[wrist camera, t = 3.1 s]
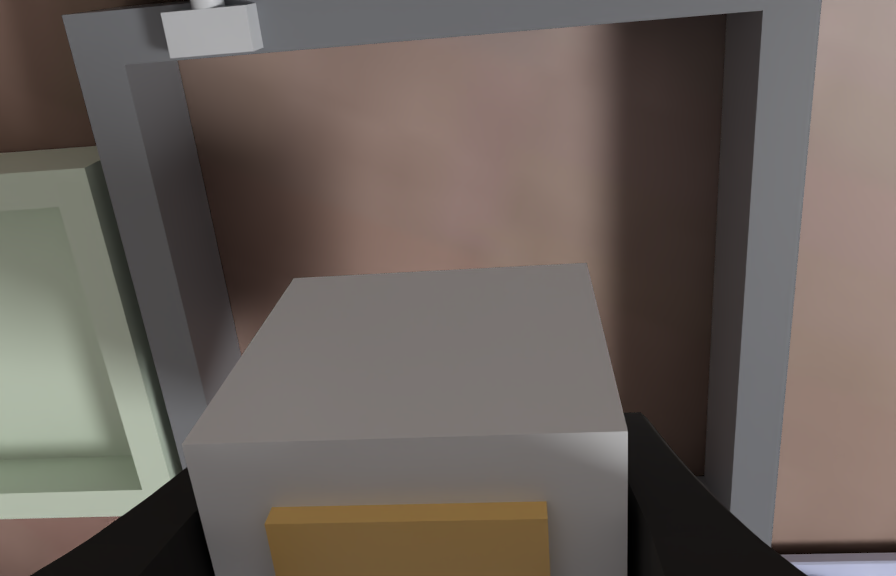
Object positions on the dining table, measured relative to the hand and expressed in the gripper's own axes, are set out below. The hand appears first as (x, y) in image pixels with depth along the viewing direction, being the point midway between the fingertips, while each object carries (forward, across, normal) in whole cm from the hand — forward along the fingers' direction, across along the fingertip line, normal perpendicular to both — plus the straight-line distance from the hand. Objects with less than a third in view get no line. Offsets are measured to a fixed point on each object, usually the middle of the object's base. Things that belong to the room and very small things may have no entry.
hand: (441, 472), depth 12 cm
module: (+2, 0, 0) cm, 2 cm away
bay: (+8, +12, 0) cm, 14 cm away
